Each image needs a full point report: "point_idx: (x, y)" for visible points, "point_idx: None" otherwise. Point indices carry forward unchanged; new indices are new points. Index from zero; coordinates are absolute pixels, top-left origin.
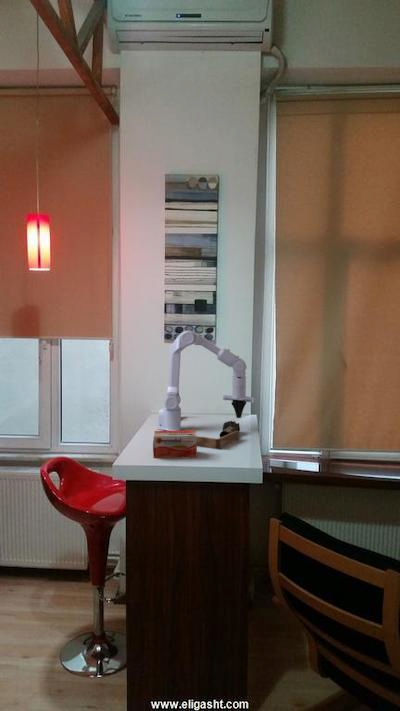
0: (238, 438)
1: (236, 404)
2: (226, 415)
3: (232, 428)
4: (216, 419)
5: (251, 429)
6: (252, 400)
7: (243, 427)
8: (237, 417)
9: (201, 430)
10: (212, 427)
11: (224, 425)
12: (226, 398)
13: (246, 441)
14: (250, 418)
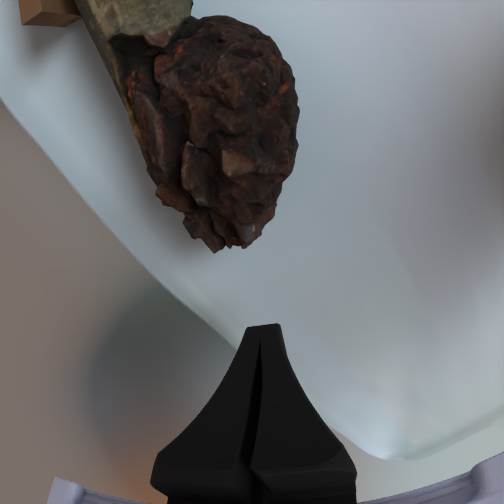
0: (58, 23)
1: (256, 456)
2: (461, 425)
3: (92, 16)
4: (489, 372)
5: (220, 332)
6: (57, 498)
7: (296, 344)
8: (266, 327)
9: (494, 93)
10: (473, 226)
11: (240, 34)
12: (466, 493)
13: (11, 42)
14: (362, 448)
